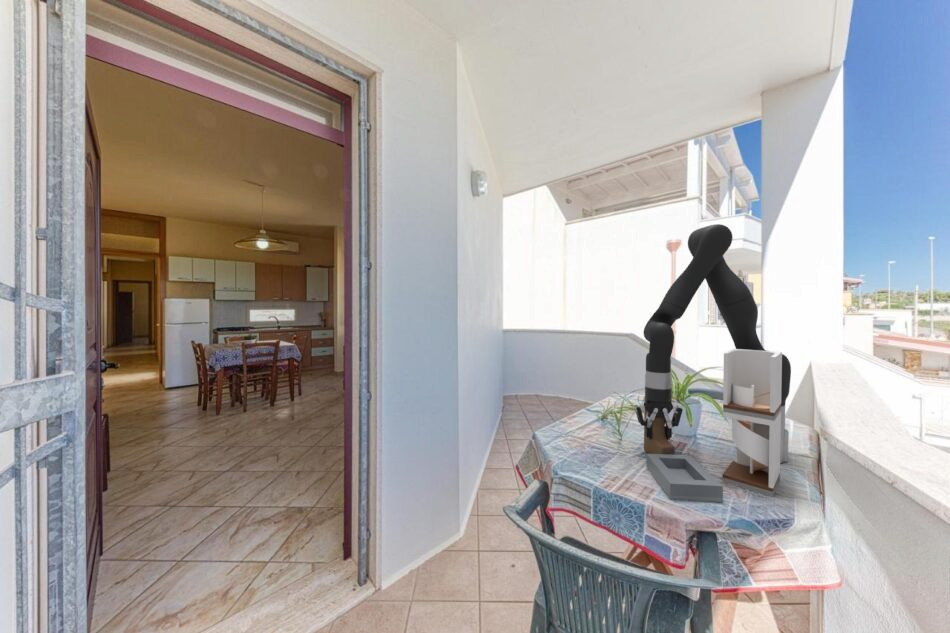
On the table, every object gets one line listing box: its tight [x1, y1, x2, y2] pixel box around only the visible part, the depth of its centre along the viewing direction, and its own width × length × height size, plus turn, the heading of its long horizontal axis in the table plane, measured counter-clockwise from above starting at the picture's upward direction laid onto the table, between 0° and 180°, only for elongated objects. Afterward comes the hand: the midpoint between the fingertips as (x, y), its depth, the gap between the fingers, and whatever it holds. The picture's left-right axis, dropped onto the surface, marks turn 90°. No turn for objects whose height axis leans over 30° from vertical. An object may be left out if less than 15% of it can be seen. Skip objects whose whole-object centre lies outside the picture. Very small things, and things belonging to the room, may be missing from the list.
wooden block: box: [643, 398, 676, 455], centre depth 113 cm, size 9×4×18 cm, turn 9°
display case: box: [721, 348, 783, 498], centre depth 96 cm, size 11×11×35 cm
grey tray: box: [646, 453, 724, 503], centre depth 97 cm, size 12×18×4 cm
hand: (658, 438), depth 113 cm, fingers closed on wooden block, 4 cm apart
